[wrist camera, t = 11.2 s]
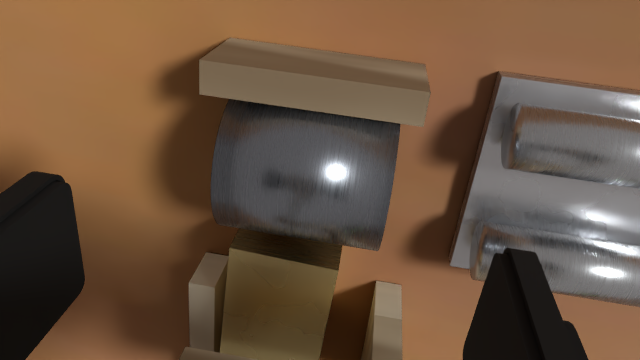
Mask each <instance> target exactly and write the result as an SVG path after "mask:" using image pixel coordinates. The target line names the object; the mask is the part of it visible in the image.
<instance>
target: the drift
mask: <svg viewBox="0 0 640 360" xmlns="http://www.w3.org/2000/svg"><path fill="white" fill-rule="evenodd" d="M341 251H342V245H338V244H331V243H325V242H319V241H313V240H307V239H301V238H295V237H289V236H283V235H277V234H271V233H265V232H259V231H253V230H247V229H241V228H239V230H238V232H237V234H236V236H235V238H234V240H233V242H232V244H231V246H230V248H229V258H228V269H227V280H226V291H225V301H224V312H223V323H222V334H221V345H220V353H224V354H229V355H235V356H240V357H246V358H251V359H257V360H319V357H320V352H321V348H322V343H323V339H324V334H325V329H326V325H327V320H328V316H329V311H330V307H331V302H332V298H333V293H334V288H335V284H336V279H337V275H338V270H339V264H340V257H341Z"/></svg>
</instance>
